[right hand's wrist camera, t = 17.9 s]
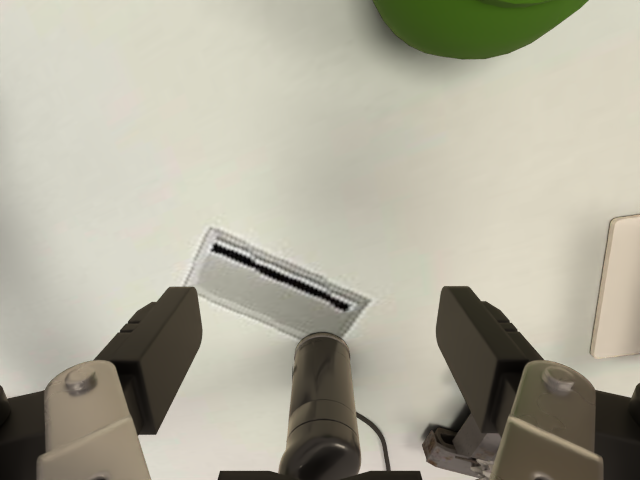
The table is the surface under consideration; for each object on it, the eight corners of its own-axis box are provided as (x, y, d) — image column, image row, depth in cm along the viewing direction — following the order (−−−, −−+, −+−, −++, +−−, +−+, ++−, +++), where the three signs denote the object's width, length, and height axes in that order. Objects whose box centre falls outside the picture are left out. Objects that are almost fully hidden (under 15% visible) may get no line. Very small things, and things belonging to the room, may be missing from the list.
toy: (594, 395, 63) (672, 478, 49) (534, 468, 70) (588, 559, 56) (468, 357, 60) (513, 434, 46) (418, 437, 67) (444, 526, 53)
